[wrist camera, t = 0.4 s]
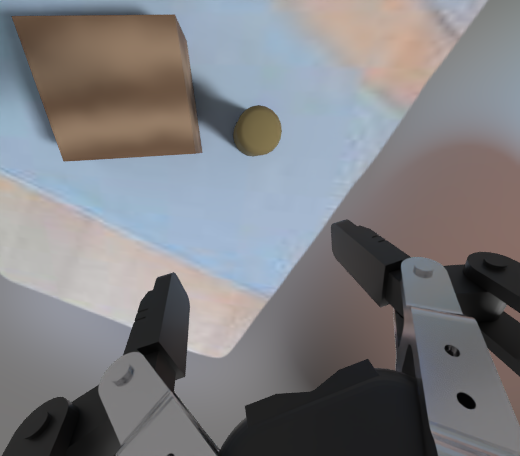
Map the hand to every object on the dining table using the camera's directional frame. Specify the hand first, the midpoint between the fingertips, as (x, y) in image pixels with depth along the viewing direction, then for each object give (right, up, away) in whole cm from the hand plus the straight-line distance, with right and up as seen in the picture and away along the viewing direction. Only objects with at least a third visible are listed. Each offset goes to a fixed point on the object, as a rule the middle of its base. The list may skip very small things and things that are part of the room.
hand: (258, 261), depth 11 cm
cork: (-1, +16, +23) cm, 28 cm away
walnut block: (-17, +19, +20) cm, 32 cm away
